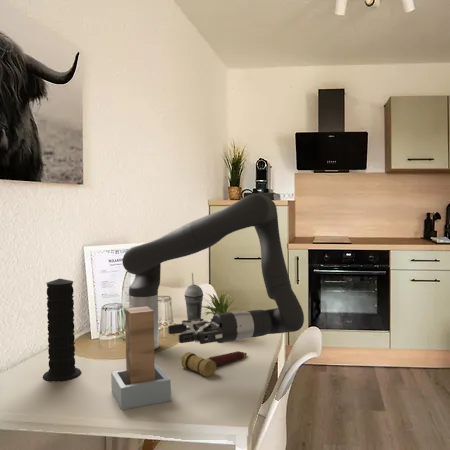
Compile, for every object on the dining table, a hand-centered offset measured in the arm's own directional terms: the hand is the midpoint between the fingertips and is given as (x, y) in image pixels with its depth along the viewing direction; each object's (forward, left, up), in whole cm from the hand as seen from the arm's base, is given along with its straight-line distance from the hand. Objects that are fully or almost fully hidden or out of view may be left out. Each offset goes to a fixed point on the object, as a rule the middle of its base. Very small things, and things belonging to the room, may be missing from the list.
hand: (173, 334), depth 116 cm
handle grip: (-32, -11, -14) cm, 37 cm away
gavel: (-2, +21, -15) cm, 26 cm away
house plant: (-20, +43, -14) cm, 50 cm away
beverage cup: (-37, +49, -14) cm, 63 cm away
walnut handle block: (-4, -8, -13) cm, 16 cm away
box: (-4, -8, -14) cm, 16 cm away
